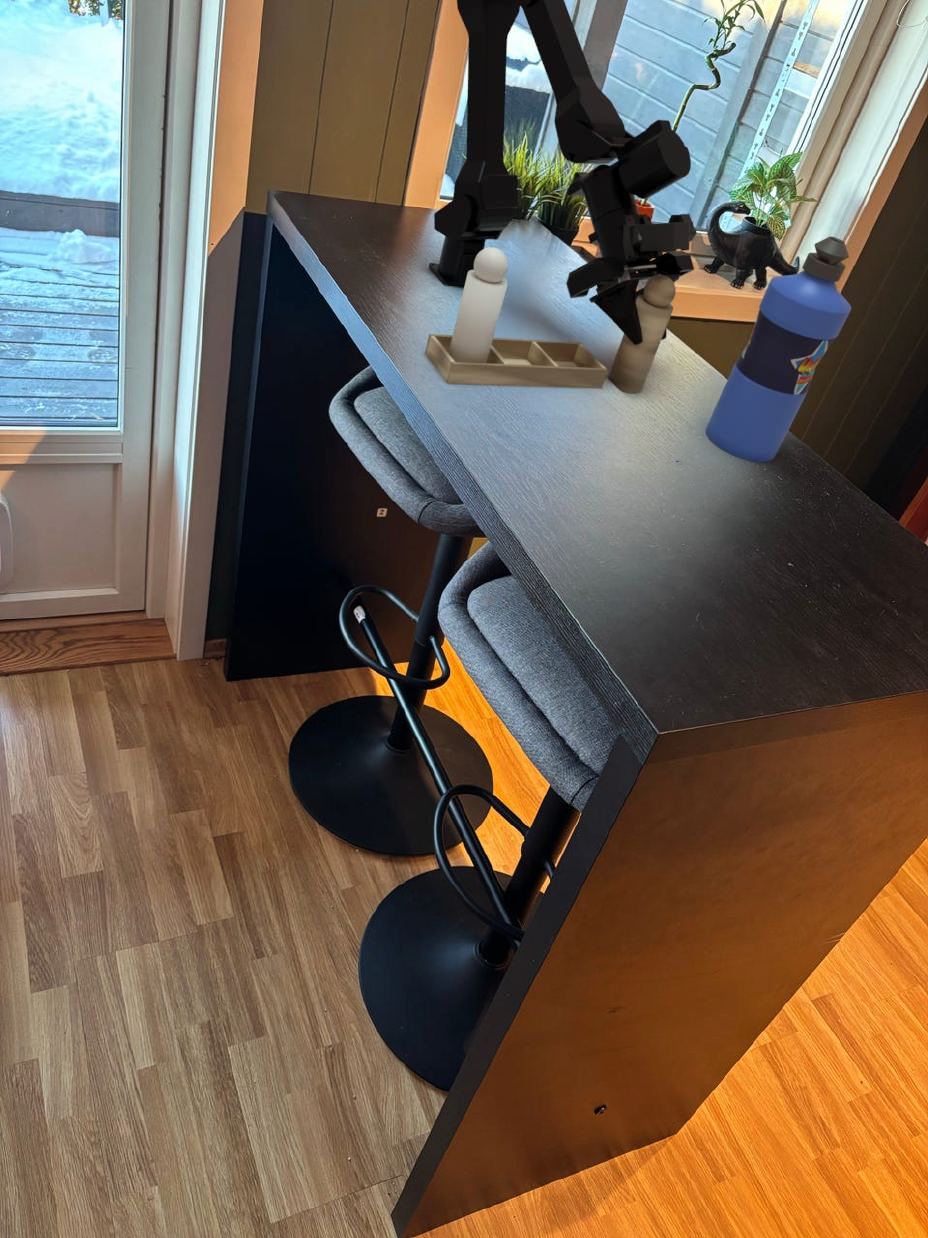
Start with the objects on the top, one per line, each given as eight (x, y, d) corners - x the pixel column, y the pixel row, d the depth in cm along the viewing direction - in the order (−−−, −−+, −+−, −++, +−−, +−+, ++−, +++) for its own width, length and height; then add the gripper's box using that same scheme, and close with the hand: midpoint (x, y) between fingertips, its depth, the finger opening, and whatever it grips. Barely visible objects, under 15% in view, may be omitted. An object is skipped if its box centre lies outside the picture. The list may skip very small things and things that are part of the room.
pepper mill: (601, 375, 123) (640, 266, 114) (630, 376, 125) (670, 269, 116) (618, 392, 120) (659, 282, 111) (648, 393, 122) (690, 285, 113)
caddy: (423, 359, 114) (429, 333, 112) (572, 365, 123) (580, 342, 121) (446, 389, 109) (453, 363, 107) (599, 393, 118) (608, 370, 116)
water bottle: (789, 453, 118) (892, 254, 103) (752, 469, 112) (856, 260, 97) (728, 417, 123) (819, 221, 107) (690, 430, 117) (780, 224, 101)
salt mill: (439, 358, 113) (468, 238, 104) (474, 360, 115) (504, 242, 106) (454, 377, 110) (485, 255, 101) (489, 378, 112) (522, 258, 103)
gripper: (618, 186, 104) (658, 325, 106) (711, 185, 116) (746, 311, 118) (547, 230, 113) (585, 358, 114) (640, 225, 125) (673, 341, 126)
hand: (650, 341), depth 118 cm, fingers closed on pepper mill, 5 cm apart
